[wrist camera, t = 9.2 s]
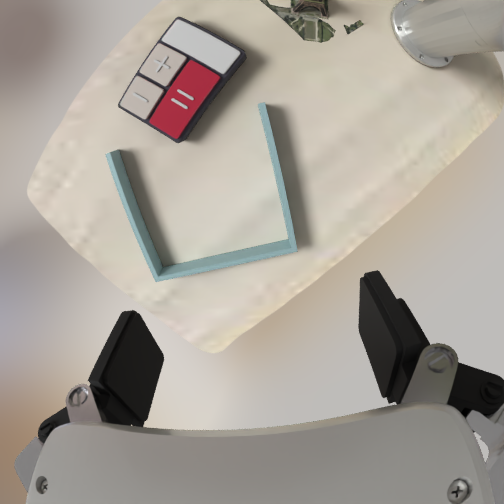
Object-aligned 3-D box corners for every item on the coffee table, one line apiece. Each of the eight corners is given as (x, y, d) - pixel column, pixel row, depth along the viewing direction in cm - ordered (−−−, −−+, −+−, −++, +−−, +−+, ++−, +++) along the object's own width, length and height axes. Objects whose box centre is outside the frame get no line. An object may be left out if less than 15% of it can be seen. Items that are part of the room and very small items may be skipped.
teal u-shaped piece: (263, 103, 34) (264, 102, 31) (294, 242, 43) (297, 251, 40) (114, 151, 36) (105, 154, 33) (160, 272, 45) (155, 282, 43)
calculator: (113, 106, 30) (176, 13, 24) (127, 105, 34) (184, 22, 27) (177, 145, 33) (246, 51, 27) (185, 141, 37) (247, 56, 31)
